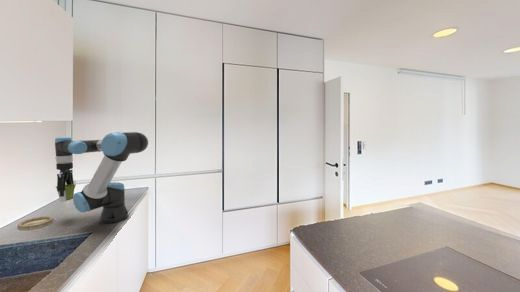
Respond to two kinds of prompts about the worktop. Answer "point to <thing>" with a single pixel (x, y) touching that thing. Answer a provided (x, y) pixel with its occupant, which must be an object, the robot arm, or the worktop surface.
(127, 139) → the robot arm
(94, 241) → the worktop surface
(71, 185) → the plant pot
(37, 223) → the round wooden tray
